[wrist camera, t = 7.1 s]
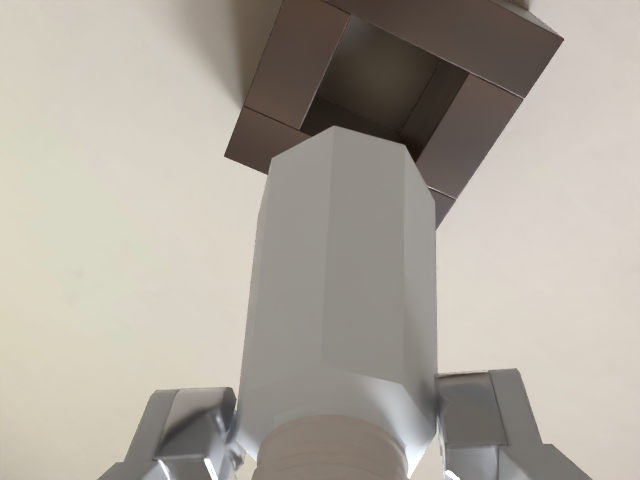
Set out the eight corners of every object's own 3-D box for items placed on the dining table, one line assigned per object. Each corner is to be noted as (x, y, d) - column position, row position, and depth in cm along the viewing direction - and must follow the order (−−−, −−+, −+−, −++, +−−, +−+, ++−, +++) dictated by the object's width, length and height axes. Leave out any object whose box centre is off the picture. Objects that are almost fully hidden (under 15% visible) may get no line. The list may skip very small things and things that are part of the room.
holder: (325, -96, 28) (317, -90, 23) (530, 12, 30) (565, 39, 25) (244, 115, 34) (223, 156, 29) (418, 192, 36) (427, 243, 31)
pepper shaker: (432, 112, 15) (538, 470, 6) (436, 271, 18) (512, 674, 9) (240, 133, 16) (78, 481, 7) (274, 282, 19) (192, 667, 10)
